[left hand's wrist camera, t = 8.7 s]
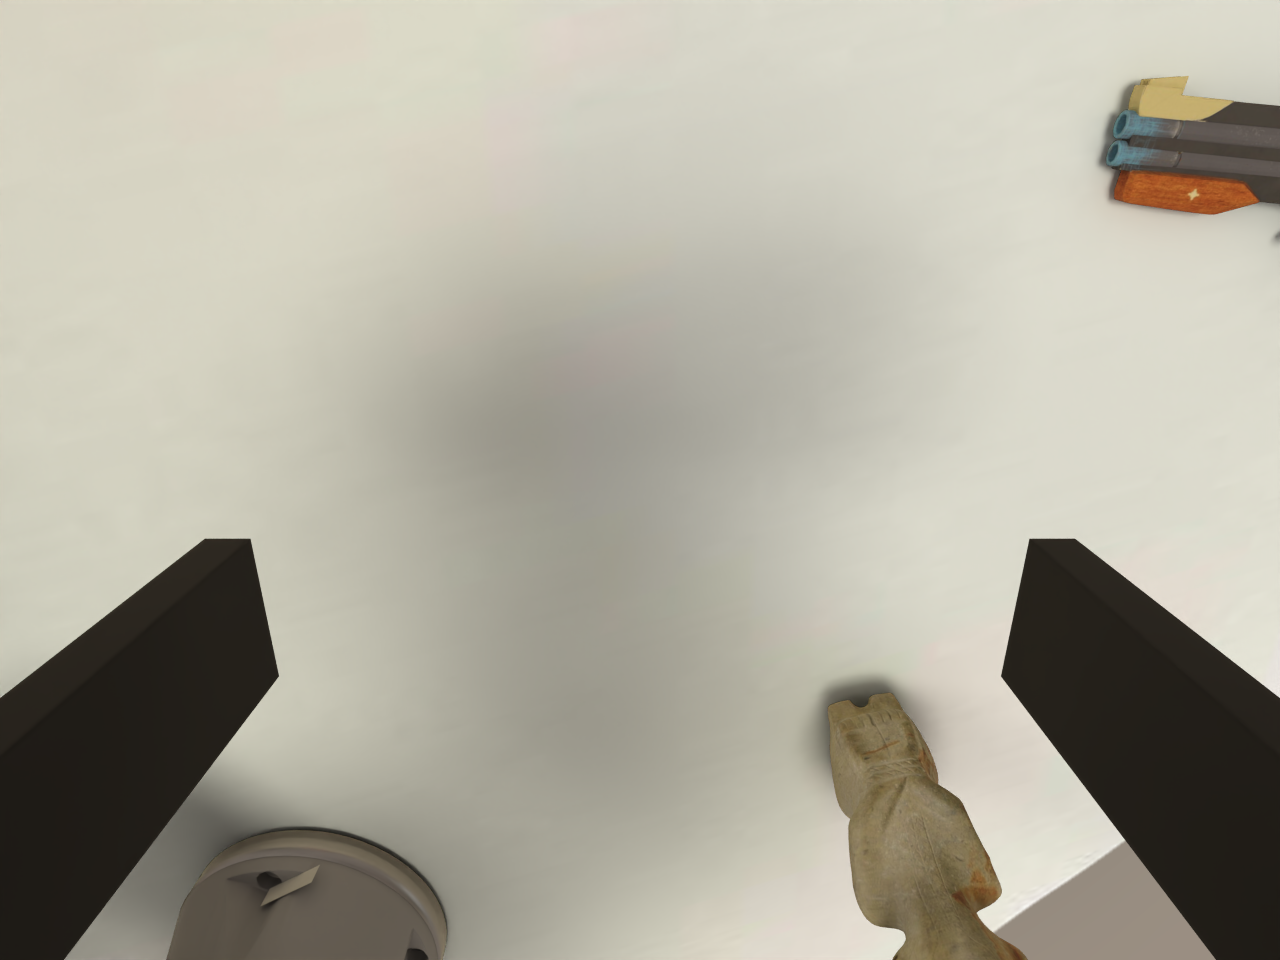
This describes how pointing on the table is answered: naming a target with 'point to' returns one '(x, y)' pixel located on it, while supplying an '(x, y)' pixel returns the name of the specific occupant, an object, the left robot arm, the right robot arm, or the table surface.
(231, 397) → the table surface
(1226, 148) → the toy gun
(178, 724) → the left robot arm
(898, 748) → the sculpture
